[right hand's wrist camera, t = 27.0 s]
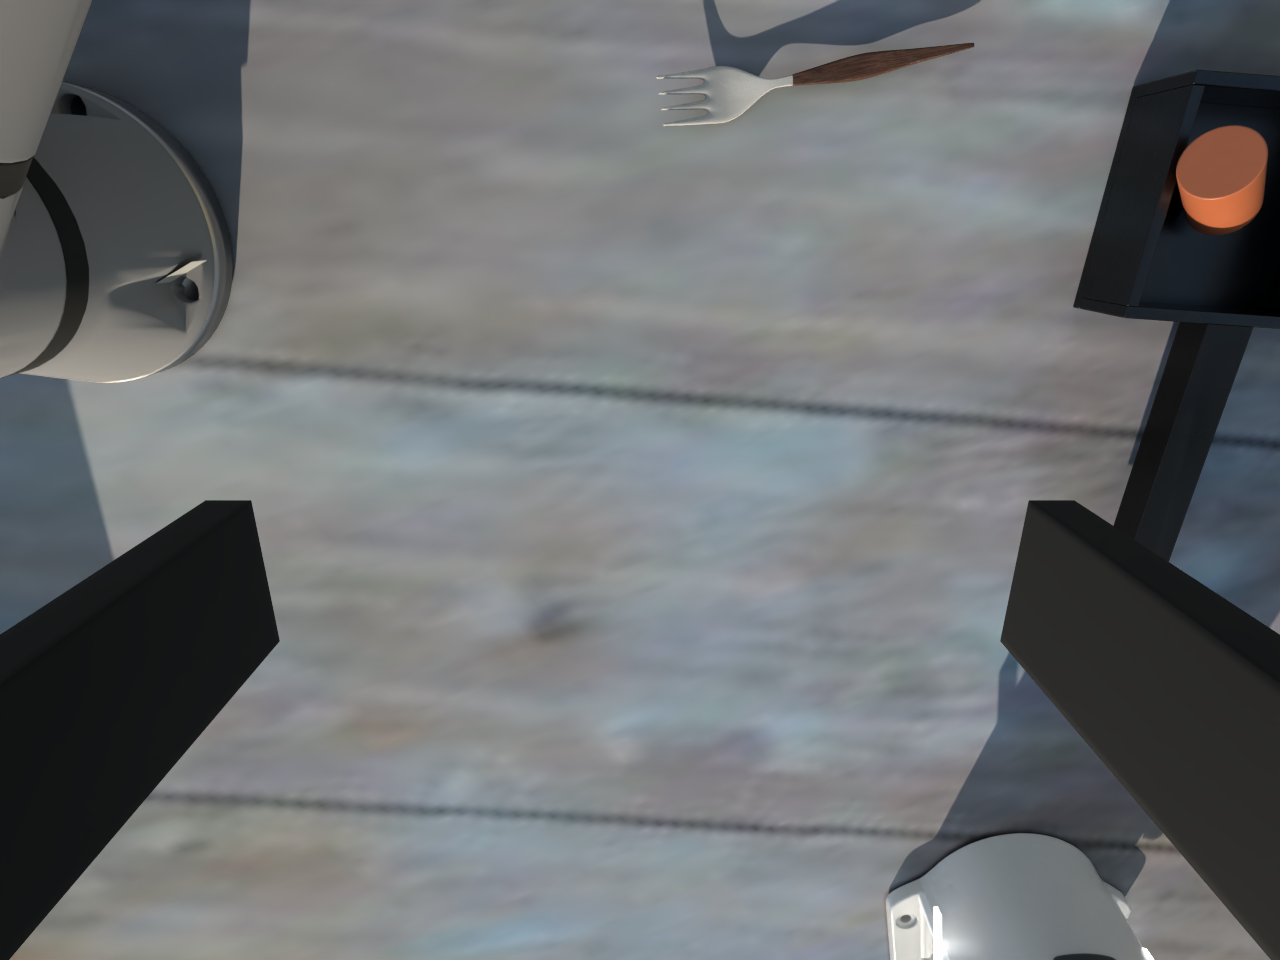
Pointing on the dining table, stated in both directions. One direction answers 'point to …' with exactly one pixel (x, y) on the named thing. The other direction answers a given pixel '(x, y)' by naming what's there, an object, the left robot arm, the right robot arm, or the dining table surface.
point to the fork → (788, 80)
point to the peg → (1223, 179)
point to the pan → (1183, 279)
